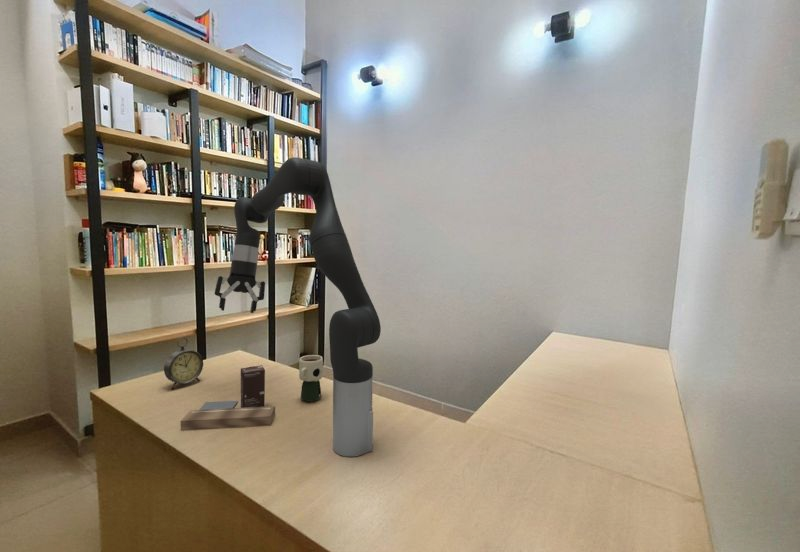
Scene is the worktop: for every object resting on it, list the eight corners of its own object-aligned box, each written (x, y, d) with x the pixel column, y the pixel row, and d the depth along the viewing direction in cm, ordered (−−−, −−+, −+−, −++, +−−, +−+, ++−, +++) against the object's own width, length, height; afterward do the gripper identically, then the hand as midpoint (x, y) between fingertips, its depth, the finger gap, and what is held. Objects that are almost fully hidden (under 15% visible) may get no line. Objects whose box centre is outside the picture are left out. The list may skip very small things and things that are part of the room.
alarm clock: (170, 392, 114) (169, 342, 113) (162, 388, 117) (160, 339, 116) (204, 381, 123) (203, 335, 122) (195, 378, 126) (194, 332, 125)
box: (243, 414, 100) (242, 372, 99) (240, 408, 104) (239, 367, 103) (265, 409, 104) (265, 368, 103) (262, 403, 107) (261, 364, 106)
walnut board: (275, 414, 100) (275, 405, 100) (271, 425, 95) (270, 415, 94) (190, 419, 97) (190, 409, 97) (180, 430, 91) (180, 420, 91)
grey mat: (237, 402, 108) (237, 400, 108) (228, 416, 99) (228, 414, 99) (205, 403, 106) (205, 402, 106) (193, 418, 98) (193, 416, 97)
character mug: (312, 408, 105) (312, 364, 104) (290, 404, 107) (290, 362, 106) (329, 393, 115) (329, 354, 114) (310, 390, 117) (310, 352, 116)
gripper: (221, 256, 107) (212, 310, 106) (270, 263, 114) (263, 314, 113) (219, 257, 114) (211, 308, 112) (265, 264, 121) (259, 312, 119)
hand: (237, 311), depth 113 cm, fingers open, 8 cm apart
